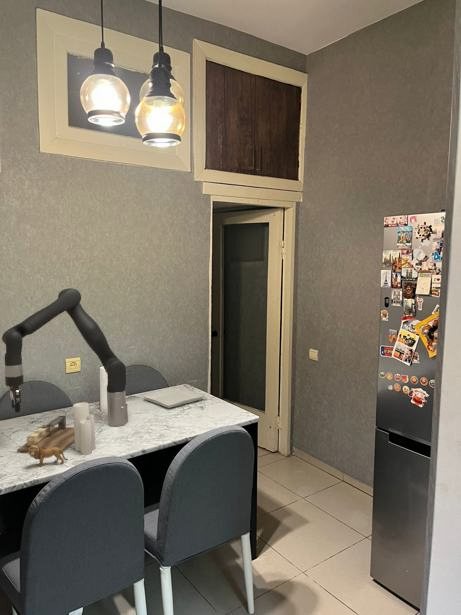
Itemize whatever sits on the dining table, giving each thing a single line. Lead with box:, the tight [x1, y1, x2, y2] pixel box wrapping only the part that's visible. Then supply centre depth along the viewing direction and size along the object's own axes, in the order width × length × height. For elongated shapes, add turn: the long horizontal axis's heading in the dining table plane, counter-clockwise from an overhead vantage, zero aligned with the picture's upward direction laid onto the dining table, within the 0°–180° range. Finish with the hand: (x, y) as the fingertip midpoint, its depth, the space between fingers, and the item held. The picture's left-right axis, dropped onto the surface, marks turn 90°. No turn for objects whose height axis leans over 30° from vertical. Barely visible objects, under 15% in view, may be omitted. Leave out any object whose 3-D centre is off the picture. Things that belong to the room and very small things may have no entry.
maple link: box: [26, 423, 50, 446], centre depth 211 cm, size 16×4×4 cm, turn 174°
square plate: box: [142, 387, 206, 409], centre depth 274 cm, size 27×27×4 cm
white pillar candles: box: [72, 401, 96, 456], centre depth 202 cm, size 11×7×20 cm, turn 46°
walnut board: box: [17, 415, 75, 455], centre depth 213 cm, size 20×28×8 cm
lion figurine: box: [28, 445, 69, 468], centre depth 188 cm, size 15×5×9 cm, turn 115°
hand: (16, 409), depth 209 cm, fingers open, 7 cm apart
